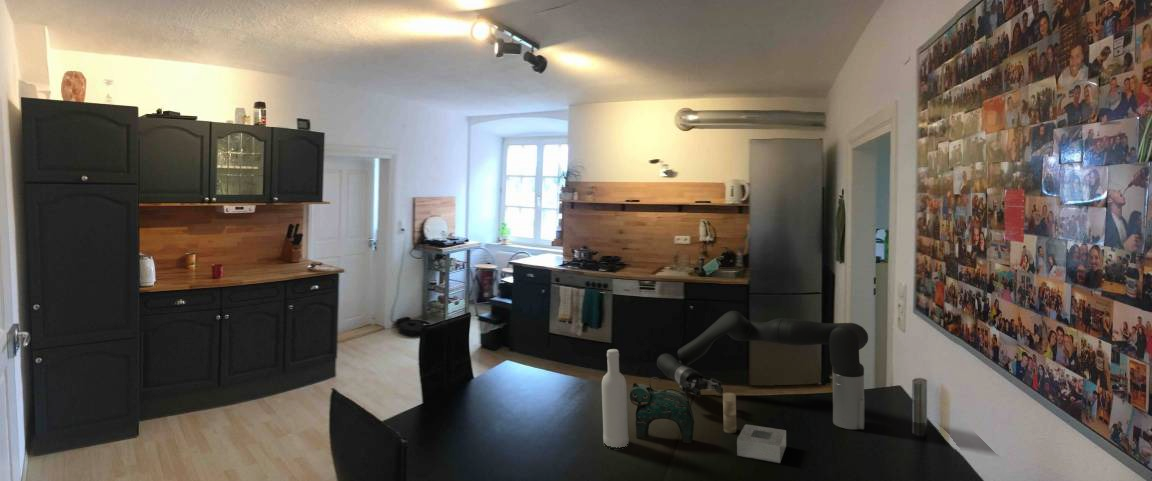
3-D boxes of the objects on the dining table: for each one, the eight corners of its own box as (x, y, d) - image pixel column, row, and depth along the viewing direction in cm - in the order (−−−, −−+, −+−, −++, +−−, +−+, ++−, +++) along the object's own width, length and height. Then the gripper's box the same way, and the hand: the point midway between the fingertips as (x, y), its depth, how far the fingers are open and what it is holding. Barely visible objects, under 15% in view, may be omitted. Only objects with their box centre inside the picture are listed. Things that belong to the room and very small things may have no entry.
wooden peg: (737, 429, 183) (736, 393, 183) (734, 434, 180) (734, 397, 179) (725, 427, 185) (724, 392, 185) (722, 432, 182) (721, 395, 181)
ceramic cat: (630, 439, 179) (628, 377, 178) (635, 431, 185) (633, 371, 184) (692, 446, 172) (691, 382, 171) (695, 437, 178) (694, 376, 177)
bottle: (611, 451, 170) (608, 355, 168) (598, 442, 177) (595, 349, 175) (633, 445, 174) (630, 351, 172) (620, 436, 181) (617, 345, 179)
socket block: (786, 446, 170) (785, 430, 169) (780, 463, 159) (779, 446, 159) (745, 439, 175) (745, 424, 175) (737, 455, 165) (736, 439, 165)
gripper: (670, 370, 206) (692, 384, 191) (705, 366, 210) (729, 379, 195) (671, 390, 207) (692, 405, 191) (705, 385, 211) (729, 400, 195)
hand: (710, 392), depth 193 cm, fingers open, 8 cm apart
